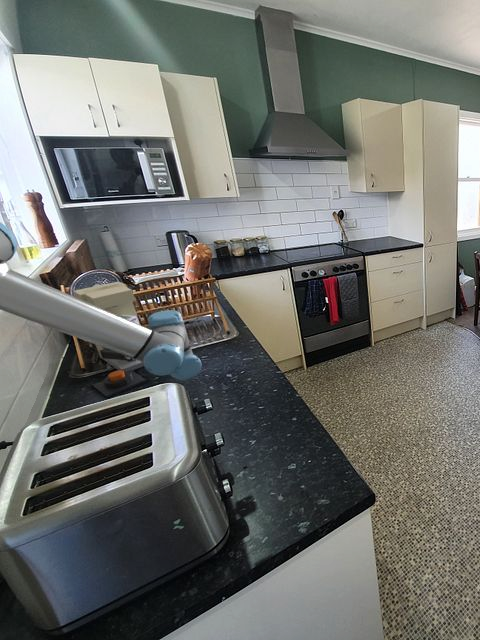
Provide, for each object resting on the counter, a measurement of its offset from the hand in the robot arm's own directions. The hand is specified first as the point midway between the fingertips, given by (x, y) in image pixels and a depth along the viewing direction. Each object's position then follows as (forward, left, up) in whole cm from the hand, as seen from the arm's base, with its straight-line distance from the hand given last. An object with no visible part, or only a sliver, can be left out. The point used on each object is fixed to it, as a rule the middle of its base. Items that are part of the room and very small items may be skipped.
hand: (129, 335), depth 114 cm
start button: (-9, -9, -8) cm, 15 cm away
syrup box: (0, +3, -9) cm, 10 cm away
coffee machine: (0, +6, -11) cm, 12 cm away
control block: (-9, -9, -11) cm, 17 cm away
